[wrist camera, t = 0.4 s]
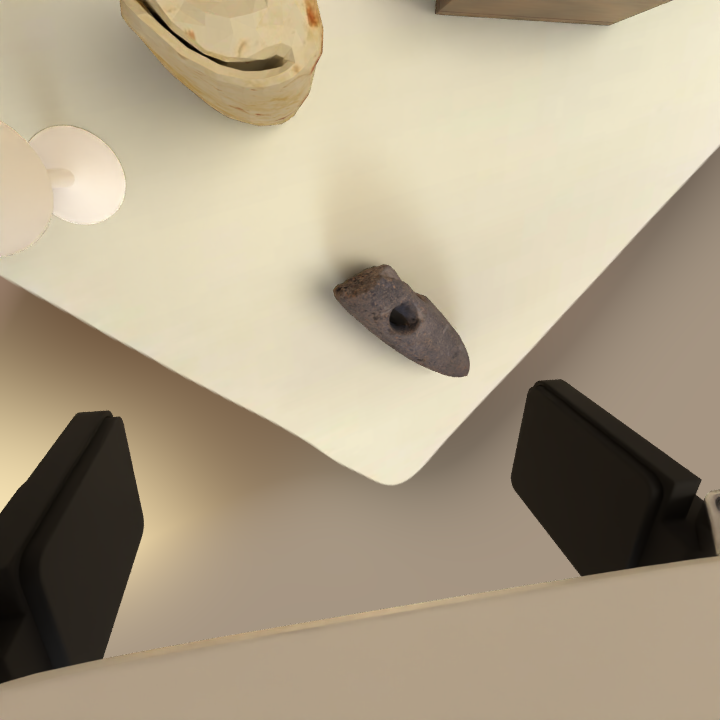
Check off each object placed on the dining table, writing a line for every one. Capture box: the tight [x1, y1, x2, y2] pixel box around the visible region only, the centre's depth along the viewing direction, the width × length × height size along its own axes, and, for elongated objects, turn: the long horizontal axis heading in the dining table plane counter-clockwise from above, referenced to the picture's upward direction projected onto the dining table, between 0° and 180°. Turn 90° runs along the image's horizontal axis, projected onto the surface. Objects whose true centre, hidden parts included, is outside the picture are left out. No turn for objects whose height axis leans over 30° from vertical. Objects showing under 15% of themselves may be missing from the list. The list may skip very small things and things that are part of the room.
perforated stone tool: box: [333, 265, 470, 377], centre depth 39 cm, size 15×5×7 cm, turn 47°
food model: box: [120, 0, 323, 126], centre depth 23 cm, size 10×7×20 cm
